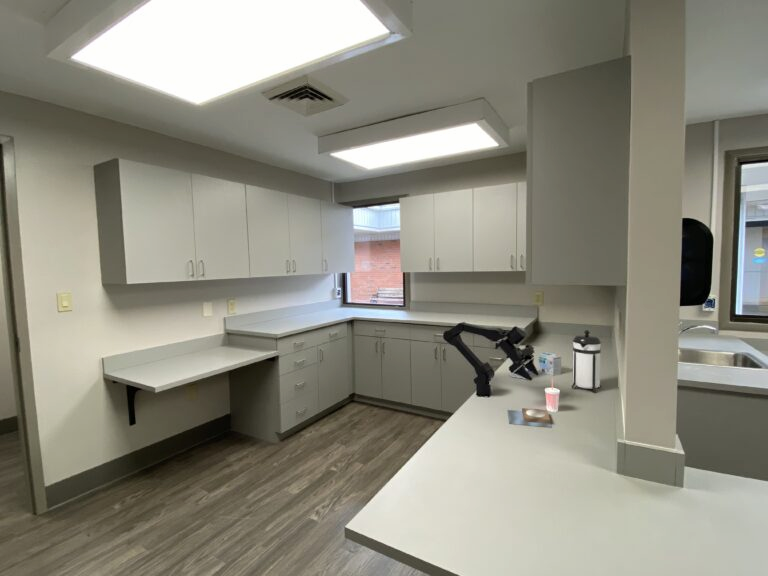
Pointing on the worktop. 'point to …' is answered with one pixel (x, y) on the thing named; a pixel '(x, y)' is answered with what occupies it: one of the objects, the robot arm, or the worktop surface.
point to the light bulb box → (550, 363)
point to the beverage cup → (552, 398)
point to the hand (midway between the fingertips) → (534, 377)
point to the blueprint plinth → (519, 419)
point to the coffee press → (586, 361)
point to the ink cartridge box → (518, 375)
